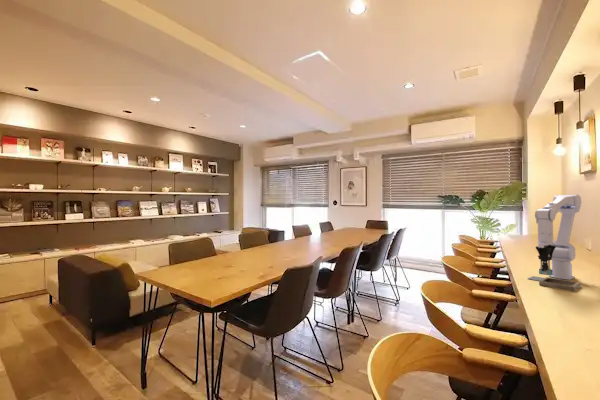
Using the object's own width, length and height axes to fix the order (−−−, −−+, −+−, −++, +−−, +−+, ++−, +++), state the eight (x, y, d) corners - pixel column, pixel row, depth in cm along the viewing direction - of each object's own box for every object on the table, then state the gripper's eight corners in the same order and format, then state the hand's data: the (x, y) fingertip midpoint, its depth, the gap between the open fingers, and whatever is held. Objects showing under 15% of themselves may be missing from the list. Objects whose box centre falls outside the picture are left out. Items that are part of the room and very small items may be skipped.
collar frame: (547, 281, 140) (547, 277, 140) (580, 287, 130) (580, 282, 130) (539, 285, 134) (539, 280, 134) (573, 291, 124) (573, 286, 124)
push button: (557, 275, 138) (556, 254, 138) (555, 276, 134) (554, 255, 135) (540, 272, 143) (539, 253, 143) (537, 274, 140) (536, 254, 140)
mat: (533, 276, 148) (533, 276, 148) (550, 279, 143) (550, 278, 143) (527, 279, 144) (527, 278, 144) (545, 282, 138) (545, 281, 138)
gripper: (551, 235, 132) (552, 264, 132) (560, 232, 140) (561, 260, 140) (532, 233, 137) (533, 261, 137) (542, 231, 146) (542, 257, 146)
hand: (546, 260), depth 139 cm, fingers closed on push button, 5 cm apart
